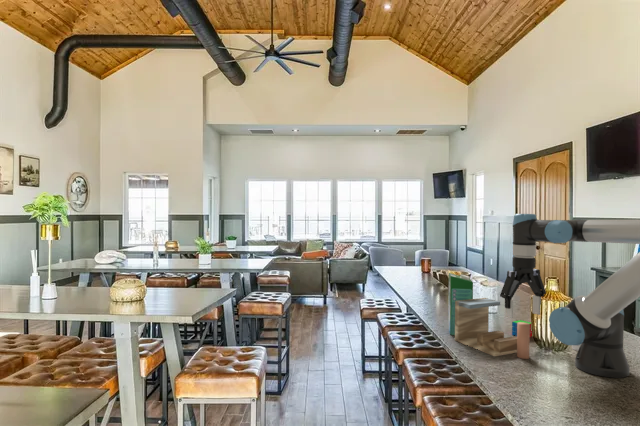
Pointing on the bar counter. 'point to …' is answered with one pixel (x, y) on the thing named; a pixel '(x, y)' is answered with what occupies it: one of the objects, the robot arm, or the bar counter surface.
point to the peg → (523, 340)
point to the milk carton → (457, 296)
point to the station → (480, 328)
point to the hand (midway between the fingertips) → (523, 315)
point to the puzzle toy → (514, 326)
